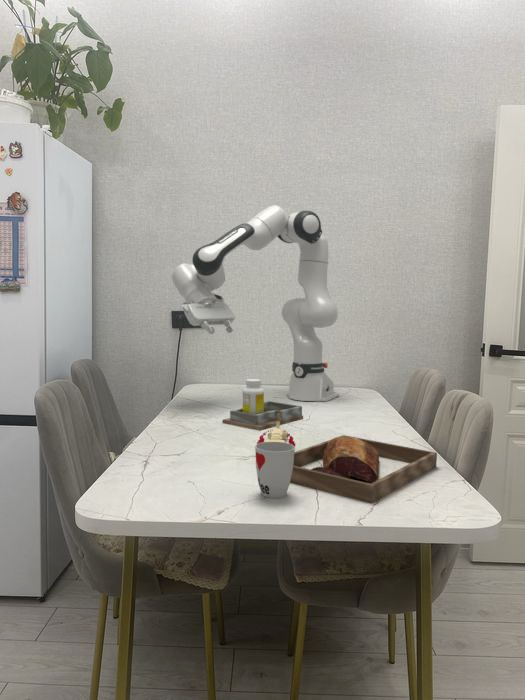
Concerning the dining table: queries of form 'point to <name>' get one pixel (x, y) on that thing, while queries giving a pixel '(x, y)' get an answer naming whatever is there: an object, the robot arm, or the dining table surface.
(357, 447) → the cured meat
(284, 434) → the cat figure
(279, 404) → the keyhole dock
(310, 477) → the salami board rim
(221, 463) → the dining table surface
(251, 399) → the supplement bottle
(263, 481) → the cup
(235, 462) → the dining table surface
